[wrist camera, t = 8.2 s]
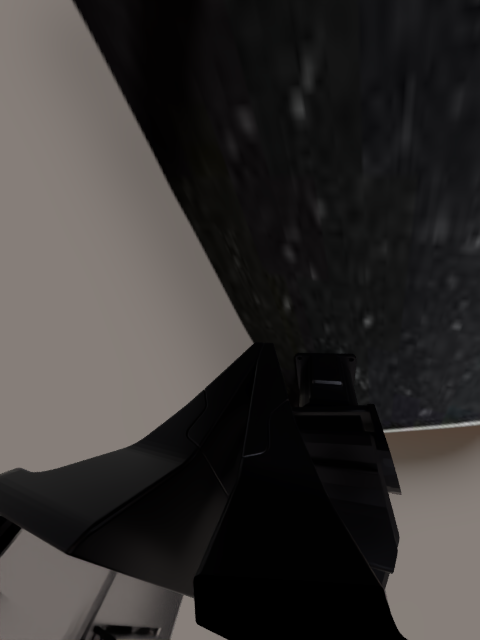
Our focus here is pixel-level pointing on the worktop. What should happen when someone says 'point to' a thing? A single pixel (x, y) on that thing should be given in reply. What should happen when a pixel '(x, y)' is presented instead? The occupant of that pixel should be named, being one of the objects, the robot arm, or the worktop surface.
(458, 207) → the worktop surface
